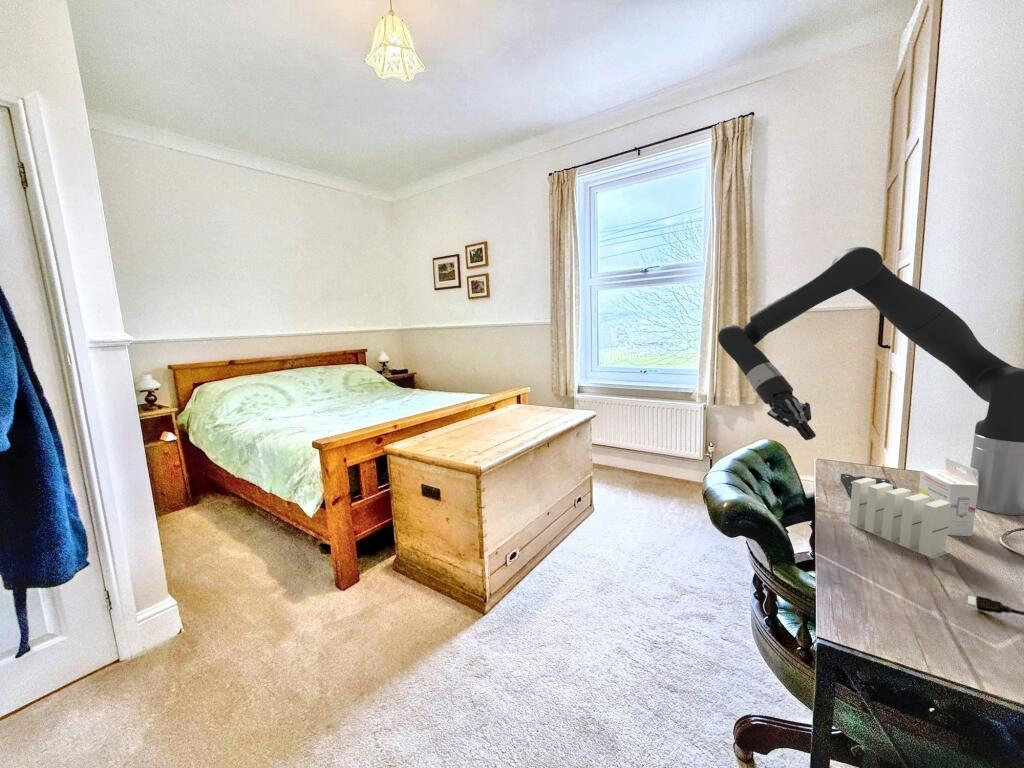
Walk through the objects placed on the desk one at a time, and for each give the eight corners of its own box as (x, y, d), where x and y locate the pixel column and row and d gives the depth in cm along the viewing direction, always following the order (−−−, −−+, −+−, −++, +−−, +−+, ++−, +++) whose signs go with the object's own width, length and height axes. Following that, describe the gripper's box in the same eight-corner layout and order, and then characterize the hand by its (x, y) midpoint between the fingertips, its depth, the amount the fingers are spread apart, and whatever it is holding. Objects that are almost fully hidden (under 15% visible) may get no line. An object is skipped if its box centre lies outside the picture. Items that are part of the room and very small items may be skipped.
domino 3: (896, 531, 86) (901, 487, 85) (906, 535, 85) (911, 490, 83) (881, 536, 85) (885, 491, 83) (890, 540, 83) (895, 494, 81)
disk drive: (839, 482, 114) (850, 503, 101) (839, 473, 113) (851, 492, 101) (887, 488, 109) (906, 511, 96) (888, 478, 108) (907, 500, 96)
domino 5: (934, 546, 80) (940, 499, 79) (945, 550, 79) (951, 502, 77) (918, 551, 79) (924, 504, 77) (929, 556, 77) (935, 507, 76)
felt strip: (862, 519, 92) (862, 517, 92) (949, 554, 78) (949, 552, 78) (846, 524, 91) (846, 522, 91) (932, 560, 77) (932, 558, 77)
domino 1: (864, 518, 92) (868, 477, 90) (872, 522, 90) (876, 480, 89) (848, 523, 90) (852, 481, 89) (857, 526, 89) (860, 483, 87)
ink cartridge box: (913, 517, 92) (920, 456, 90) (939, 518, 91) (946, 456, 89) (944, 536, 84) (953, 470, 82) (973, 538, 83) (983, 470, 81)
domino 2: (879, 525, 89) (884, 482, 87) (888, 528, 87) (893, 485, 86) (864, 529, 87) (868, 486, 86) (873, 533, 86) (877, 489, 84)
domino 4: (915, 538, 83) (920, 493, 82) (925, 542, 82) (930, 496, 80) (899, 544, 82) (904, 497, 80) (909, 548, 80) (914, 501, 79)
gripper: (759, 376, 104) (803, 434, 94) (796, 372, 108) (842, 427, 98) (741, 393, 110) (780, 449, 100) (777, 389, 114) (818, 442, 104)
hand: (811, 438), depth 99 cm, fingers closed
